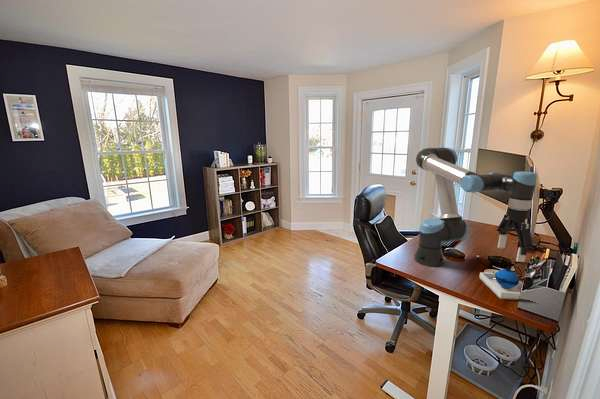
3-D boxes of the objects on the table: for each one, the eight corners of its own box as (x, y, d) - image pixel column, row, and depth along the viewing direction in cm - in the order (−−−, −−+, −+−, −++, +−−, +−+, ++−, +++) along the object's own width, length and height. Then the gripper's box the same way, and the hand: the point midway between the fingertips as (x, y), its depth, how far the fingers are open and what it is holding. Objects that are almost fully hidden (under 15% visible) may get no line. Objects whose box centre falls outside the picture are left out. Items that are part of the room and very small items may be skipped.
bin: (500, 298, 112) (501, 292, 112) (479, 277, 129) (480, 272, 129) (535, 301, 110) (537, 294, 110) (509, 279, 127) (510, 274, 127)
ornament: (489, 284, 123) (492, 264, 121) (502, 281, 125) (505, 261, 123) (508, 293, 115) (512, 272, 113) (522, 290, 117) (526, 269, 115)
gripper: (551, 217, 99) (540, 268, 104) (510, 201, 123) (502, 243, 128) (529, 216, 100) (519, 267, 105) (492, 201, 124) (486, 242, 129)
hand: (510, 254), depth 117 cm, fingers open, 13 cm apart
